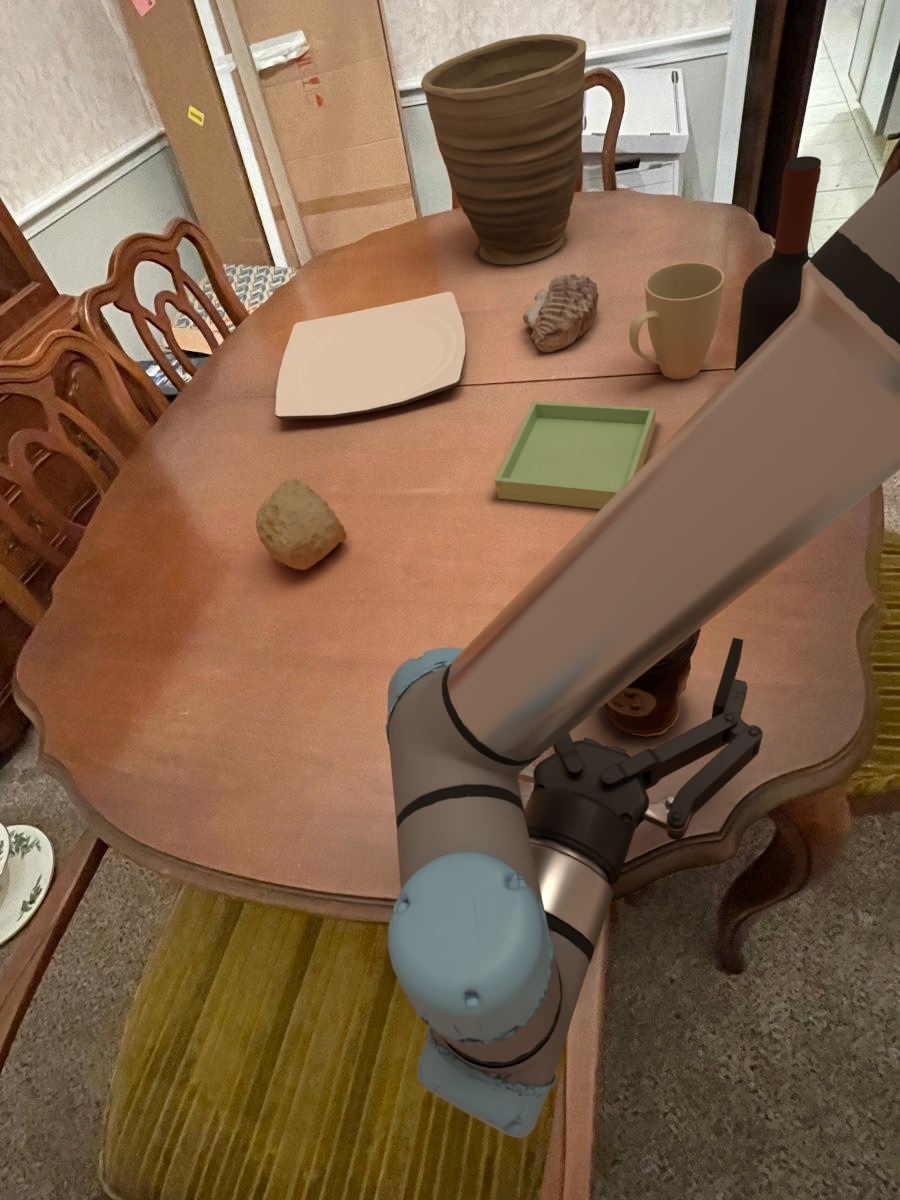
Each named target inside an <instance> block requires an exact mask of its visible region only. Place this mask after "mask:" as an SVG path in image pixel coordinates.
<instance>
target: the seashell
mask: <svg viewBox="0 0 900 1200" xmlns="http://www.w3.org/2000/svg"><path fill="white" fill-rule="evenodd" d="M599 297H600V296H599V293H598V285H597V283H595V281H593V280H592V279H591V278H590V277H589V276H588V275H586V276H585V275H584V274H581V275H579V276H578V275H576V273H570V274H560V275H556V276H555V277H553V279H551V281H550V283H549V286H548V290H546V289H545V288H541V289H539V291H537V292H536V294H535V295H534V300H535V302H534V303H533V304H532V305H530V306H529V308H528V309H527V310H526V311H525V312H524V313H523V316H522V320H523V321H524V323H525V324H526V325H527V326H528V327H529V328H530V329H532V333H531V334H530V337H529V339H530V340H532V341H534V342H533V344H534V345H535V346H536V347H537V349H538V350H539V351H540V352H544V353H553V352H555V351H557V350H561V349H564V348H566V347H568V346H569V345H572V344H574V343H575V341H576V339H578V338H580V337H581V336H583V335H584V334H585V333H586V331H588V329H589V328H590V327H591V325H593V322H594V319H596V315H597V309H598V303H599V302H598V301H599Z"/></svg>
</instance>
